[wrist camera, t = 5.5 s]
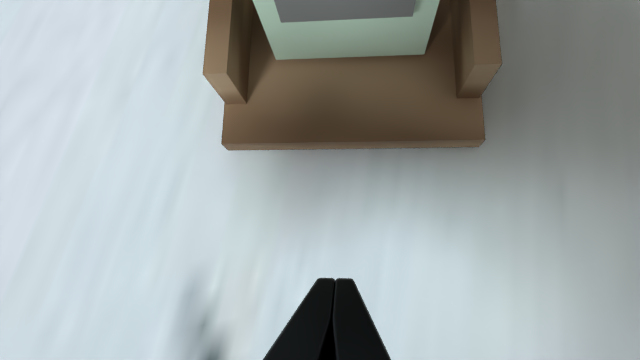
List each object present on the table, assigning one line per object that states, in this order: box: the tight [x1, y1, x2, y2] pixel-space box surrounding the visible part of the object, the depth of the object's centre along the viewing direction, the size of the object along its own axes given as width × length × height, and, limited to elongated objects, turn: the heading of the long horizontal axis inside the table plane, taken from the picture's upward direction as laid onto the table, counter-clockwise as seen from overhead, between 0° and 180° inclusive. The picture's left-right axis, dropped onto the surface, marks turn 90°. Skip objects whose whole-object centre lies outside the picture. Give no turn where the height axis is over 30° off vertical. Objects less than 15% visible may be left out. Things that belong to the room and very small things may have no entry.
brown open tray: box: [203, 0, 502, 150], centre depth 18 cm, size 12×12×5 cm
